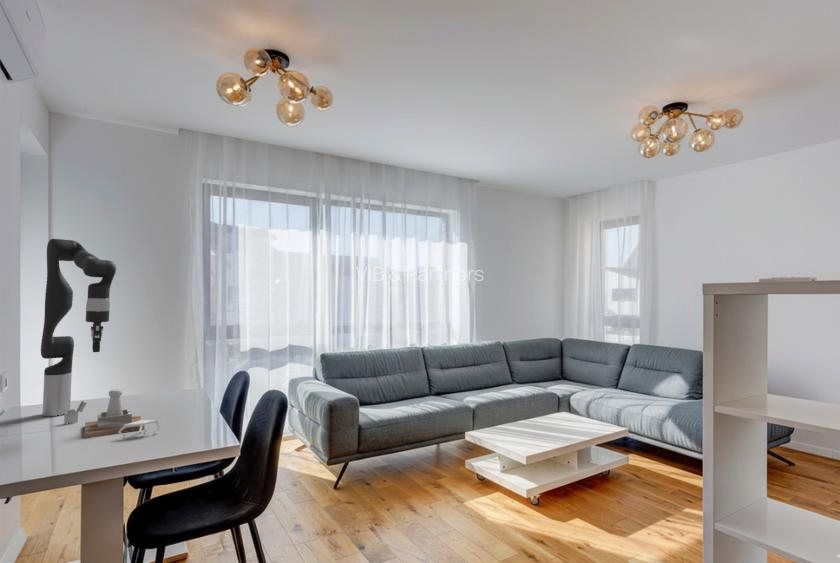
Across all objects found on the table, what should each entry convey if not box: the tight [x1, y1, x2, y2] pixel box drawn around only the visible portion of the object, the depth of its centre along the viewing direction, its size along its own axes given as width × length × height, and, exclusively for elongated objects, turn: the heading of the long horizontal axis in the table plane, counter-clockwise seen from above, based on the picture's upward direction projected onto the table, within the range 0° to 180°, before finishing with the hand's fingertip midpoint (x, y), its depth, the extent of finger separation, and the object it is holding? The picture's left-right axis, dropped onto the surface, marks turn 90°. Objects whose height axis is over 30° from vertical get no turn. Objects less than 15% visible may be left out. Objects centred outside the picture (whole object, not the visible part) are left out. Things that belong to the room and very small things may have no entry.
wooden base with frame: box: [84, 408, 144, 439], centre depth 170 cm, size 18×18×6 cm
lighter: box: [63, 400, 88, 425], centre depth 178 cm, size 7×2×8 cm, turn 149°
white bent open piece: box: [117, 419, 161, 439], centre depth 161 cm, size 12×8×5 cm
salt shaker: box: [106, 388, 123, 417], centre depth 170 cm, size 6×6×13 cm
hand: (95, 350), depth 175 cm, fingers open, 8 cm apart
